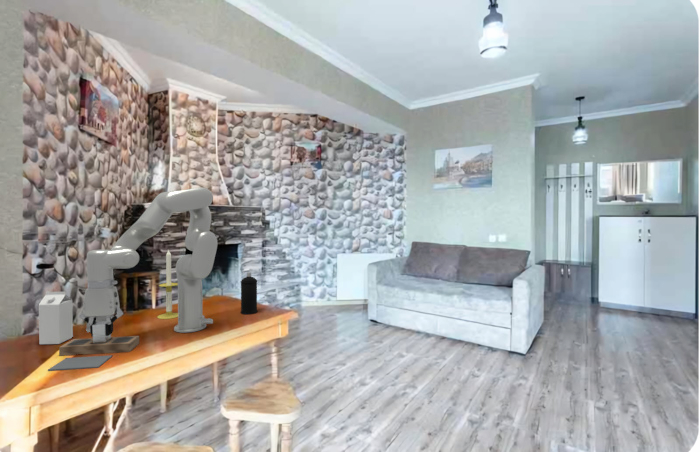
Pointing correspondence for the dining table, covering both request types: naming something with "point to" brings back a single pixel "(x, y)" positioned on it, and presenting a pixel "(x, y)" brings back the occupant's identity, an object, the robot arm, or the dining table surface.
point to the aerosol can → (248, 295)
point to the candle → (168, 290)
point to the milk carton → (55, 318)
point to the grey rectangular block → (100, 333)
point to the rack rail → (99, 346)
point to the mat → (80, 363)
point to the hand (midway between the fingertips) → (101, 334)
